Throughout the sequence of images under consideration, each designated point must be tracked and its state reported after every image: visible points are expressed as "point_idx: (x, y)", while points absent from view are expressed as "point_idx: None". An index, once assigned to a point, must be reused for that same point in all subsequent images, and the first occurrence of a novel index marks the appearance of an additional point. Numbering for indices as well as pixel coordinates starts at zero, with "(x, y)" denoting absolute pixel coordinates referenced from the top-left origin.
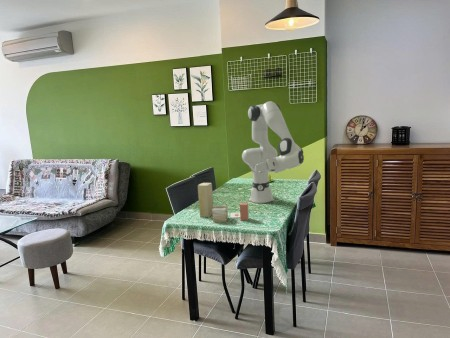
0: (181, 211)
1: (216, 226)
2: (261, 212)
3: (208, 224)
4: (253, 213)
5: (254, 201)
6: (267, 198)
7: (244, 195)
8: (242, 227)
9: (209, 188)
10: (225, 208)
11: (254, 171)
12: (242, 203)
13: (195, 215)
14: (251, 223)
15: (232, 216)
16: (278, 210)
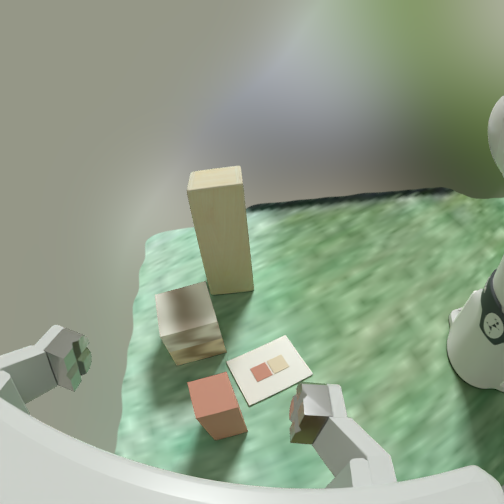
0: None
1: (129, 354)
2: None
3: (145, 324)
4: None
5: (449, 342)
6: (488, 376)
7: (477, 272)
8: (131, 443)
9: (215, 204)
10: (173, 333)
11: (46, 374)
12: (215, 385)
13: None
14: (182, 466)
15: (242, 362)
16: None
